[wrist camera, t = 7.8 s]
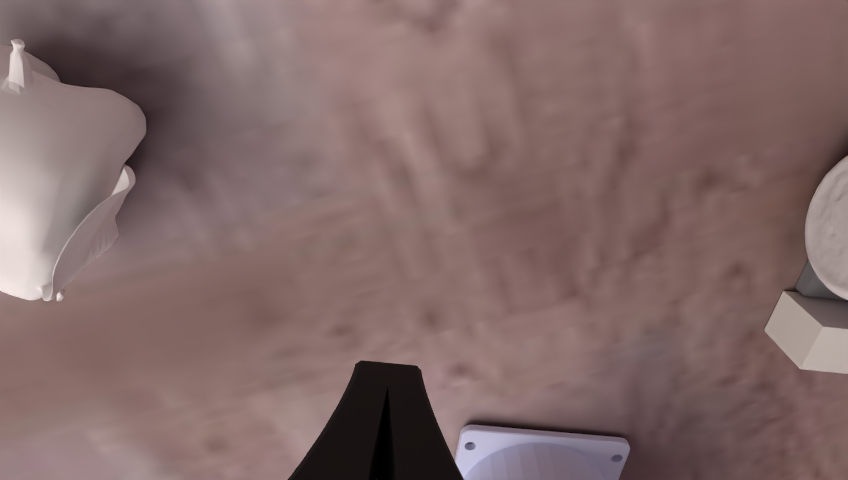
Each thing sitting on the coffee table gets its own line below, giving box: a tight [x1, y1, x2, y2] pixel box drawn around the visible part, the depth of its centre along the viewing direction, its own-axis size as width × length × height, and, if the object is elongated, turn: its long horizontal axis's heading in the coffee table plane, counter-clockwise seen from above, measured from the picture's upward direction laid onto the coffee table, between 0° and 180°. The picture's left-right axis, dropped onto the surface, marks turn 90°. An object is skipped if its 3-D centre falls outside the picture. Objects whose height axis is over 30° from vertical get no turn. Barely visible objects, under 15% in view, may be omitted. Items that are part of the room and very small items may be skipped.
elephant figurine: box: [0, 39, 146, 301], centre depth 17 cm, size 8×10×7 cm
